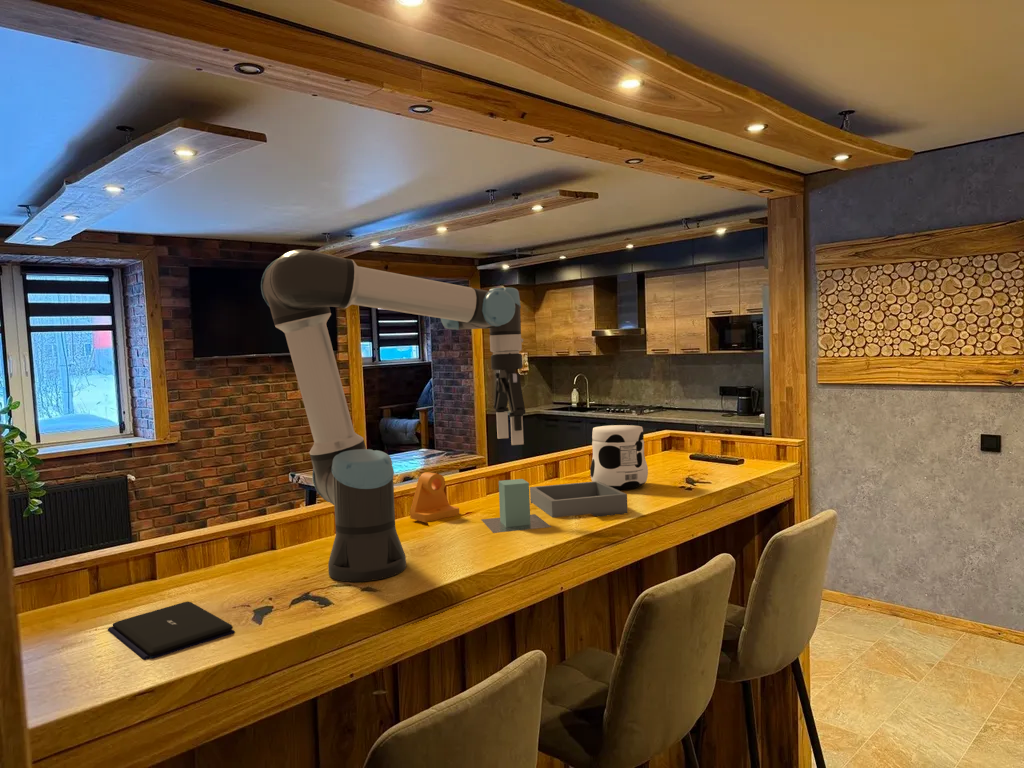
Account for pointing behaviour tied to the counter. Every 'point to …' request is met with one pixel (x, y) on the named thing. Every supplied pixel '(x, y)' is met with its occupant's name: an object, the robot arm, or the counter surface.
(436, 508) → the bracket
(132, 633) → the laptop
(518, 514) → the green rectangular block
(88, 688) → the counter surface
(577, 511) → the bin
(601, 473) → the milk container
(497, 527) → the base
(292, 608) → the counter surface
